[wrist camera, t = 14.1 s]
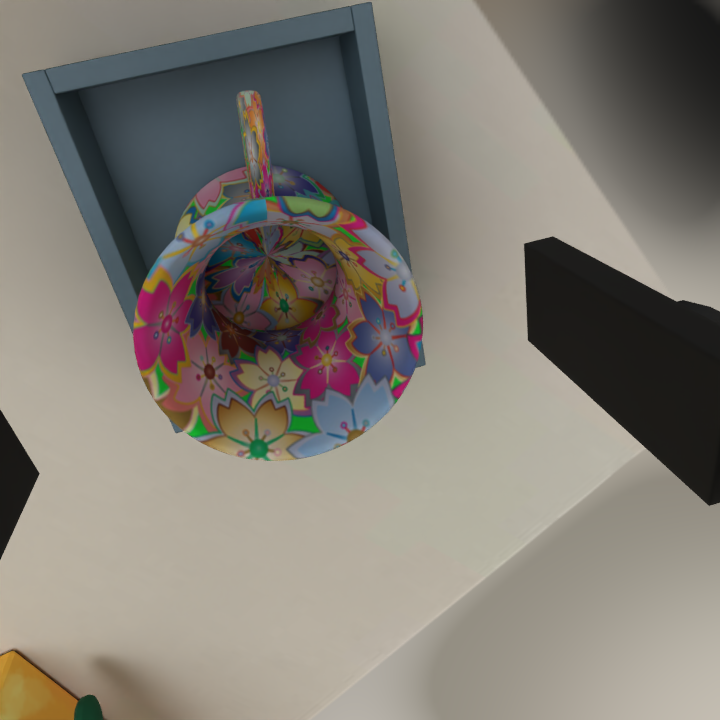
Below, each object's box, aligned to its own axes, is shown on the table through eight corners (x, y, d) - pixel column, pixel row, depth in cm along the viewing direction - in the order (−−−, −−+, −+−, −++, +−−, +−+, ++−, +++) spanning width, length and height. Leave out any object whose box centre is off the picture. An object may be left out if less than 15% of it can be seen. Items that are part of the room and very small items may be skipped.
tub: (349, 12, 24) (372, 1, 21) (402, 330, 32) (426, 365, 28) (54, 73, 23) (20, 74, 19) (181, 389, 31) (175, 434, 27)
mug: (365, 326, 30) (426, 437, 21) (189, 352, 29) (170, 484, 20) (348, 77, 25) (420, 79, 15) (128, 94, 23) (62, 108, 14)
